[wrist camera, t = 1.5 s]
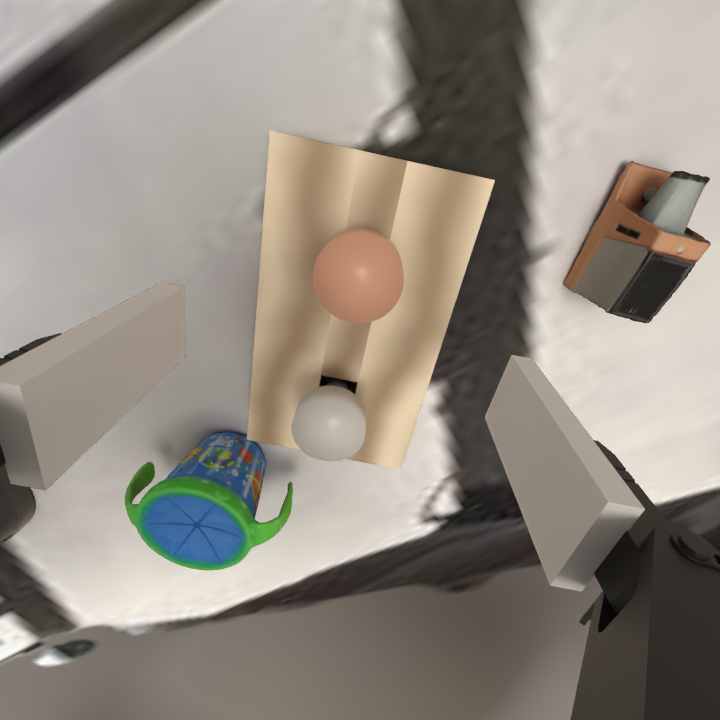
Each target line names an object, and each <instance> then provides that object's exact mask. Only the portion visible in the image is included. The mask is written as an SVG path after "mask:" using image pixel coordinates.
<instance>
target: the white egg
mask: <svg viewBox="0 0 720 720" xmlns="http://www.w3.org/2000/svg"><path fill="white" fill-rule="evenodd" d="M349 390H350V382H349V381H348V380H343V379H338V378H333V377H330V378H329V379H328V381H327V384H326V386H321V387H317V388H315V389H312V390H311V391H309V392H308V393H306V394H305V395H304V396H303V397H302V399H301V400H300V402H299V405H298V407H297V410H296V413H295V415H294V418H293V421H292V425H291V431H292V436H293V439H294V441H295V443H296V444H297V445H298V447H299V448H300V449H301V450H302V451H303V452H305V453H306V454H308V455H309V456H311V457H314V458H316V459H320V460H324V461H338V460H343V459H346V458H348V457H350V456H352V455H354V454H355V453H356V452H357V451H358V450H359V449H360V448H361V446H362V445H363V443H364V440H365V432H366V417H367V415H366V410H365V407H364V405H363V403H362V402H361V400H360V399H359V398H358V397H357V396H356V395H355V394H354V393H352V392H351V391H349Z"/></svg>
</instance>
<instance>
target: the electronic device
mask: <svg viewBox="0 0 720 720" xmlns="http://www.w3.org/2000/svg"><path fill="white" fill-rule="evenodd" d="M709 180H710V178H708V177H702V176H700V175H693V174H689V173H687V172H684V171H675V172H673V173H671V172H667V171H663V170H660V169H655V168H652V167H648V166H645V165H641V164H638V163H634V162H633V161H631V162H629V163H628V164H627V165H626V167H625V170H624V171H622V172H621V174H620V175H619V178H618V182H617V183H616V185H615V187H614V190H613V192H612V194H611V196H610V198H609V200H608V202H607V203H606V205H605V207H604V209H603V211H602V213H601V215H600V216H599V218H598V219H597V221H595V223H594V224H593V225H592V227H591V230H590V232H589V234H588V236H587V238H586V240H585V242H584V246H583V248H582V250H581V252H580V254H579V256H578V258H577V259H576V260H575V264H574V265H573V267H572V269H571V271H570V273H569V275H568V277H567V278H566V280H565V282H564V286H566V287H567V288H568V289H570V290H571V291H573V292H575V293H578V294H580V295H582V296H583V297H584V298H587V299H588V300H590V301H591V302H593V303H595V304H596V305H598V307H601V308H603V309H604V310H605V311H606V313H610V314H614V315H616V316H620V317H624V318H628V319H631V320H632V321H638V322H643V323H649V322H650V321H651V320H652V319H653V317H654V316H655V315H656V314H657V313H658V312H659V311H660V310H661V308H662V307H663V305H664V304H665V303H666V302H667V301H668V300H669V299H670V298H671V296H672V294H673V293H674V292H675V291H676V290H677V289H678V287H679V286H680V284H681V283H682V282H683V281H684V279H685V278H686V277H687V276H688V274H689V272H690V271H691V270H692V268H693V267H694V265H695V263H696V262H697V261H698V260H699V259H700V258H701V256H702V255H703V254H704V252H705V251H706V250H707V248H708V247H709V246H710V242H709V241H707V240H705V239H704V237H702V236H701V235H699V234H698V233H696V232H694V231H692V230H690V229H689V228H687V225H688V222H689V220H690V217H691V215H692V213H693V210H694V208H695V206H696V203H697V201H698V199H699V197H700V194H701V192H702V190H703V188H704V187H705V185H706V183H707V182H708V181H709Z"/></svg>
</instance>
